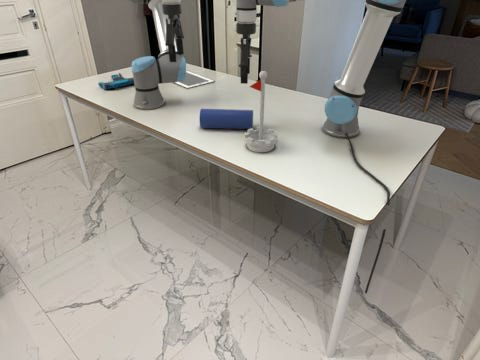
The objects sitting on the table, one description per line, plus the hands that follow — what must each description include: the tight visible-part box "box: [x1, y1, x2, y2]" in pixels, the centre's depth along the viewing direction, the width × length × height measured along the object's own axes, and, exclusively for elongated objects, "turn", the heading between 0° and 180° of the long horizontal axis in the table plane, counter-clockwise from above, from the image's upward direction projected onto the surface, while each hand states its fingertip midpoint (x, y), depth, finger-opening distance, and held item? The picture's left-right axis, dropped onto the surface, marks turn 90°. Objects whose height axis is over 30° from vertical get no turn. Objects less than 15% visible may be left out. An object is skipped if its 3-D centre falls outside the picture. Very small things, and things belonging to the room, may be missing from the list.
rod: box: [199, 107, 254, 130], centre depth 150 cm, size 23×8×8 cm, turn 85°
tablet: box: [172, 70, 215, 89], centre depth 214 cm, size 32×20×1 cm, turn 41°
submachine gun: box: [97, 74, 134, 90], centre depth 209 cm, size 34×4×25 cm
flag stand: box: [244, 70, 278, 153], centre depth 129 cm, size 13×13×30 cm
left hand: (177, 57), depth 148 cm, fingers open, 13 cm apart
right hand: (245, 78), depth 140 cm, fingers open, 13 cm apart
